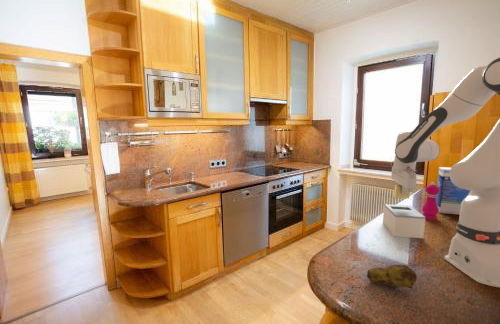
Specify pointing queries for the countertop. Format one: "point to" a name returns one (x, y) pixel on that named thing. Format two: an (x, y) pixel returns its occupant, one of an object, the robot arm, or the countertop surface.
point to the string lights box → (449, 193)
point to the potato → (393, 276)
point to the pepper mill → (431, 202)
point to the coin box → (403, 221)
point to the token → (398, 192)
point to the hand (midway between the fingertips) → (401, 193)
